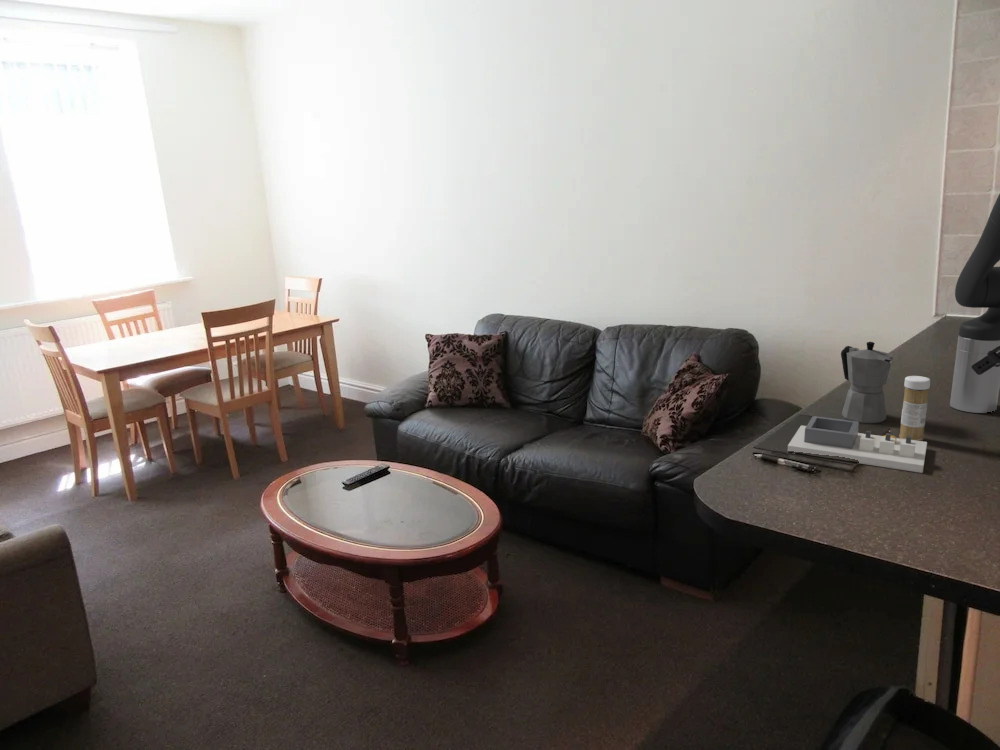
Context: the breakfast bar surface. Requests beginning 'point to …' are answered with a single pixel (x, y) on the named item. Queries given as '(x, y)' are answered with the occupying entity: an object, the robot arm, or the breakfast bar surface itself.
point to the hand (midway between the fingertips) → (984, 367)
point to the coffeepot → (865, 383)
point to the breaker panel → (858, 444)
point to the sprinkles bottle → (914, 407)
